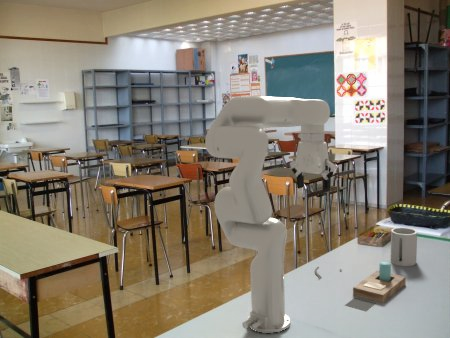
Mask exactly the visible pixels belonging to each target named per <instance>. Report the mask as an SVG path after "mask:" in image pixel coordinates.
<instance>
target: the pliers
mask: <svg viewBox="0 0 450 338" xmlns="http://www.w3.org/2000/svg"><path fill="white" fill-rule="evenodd" d="M319 268H320V267H319V266H317V267H316V268H315V269H314V274H315V276H317V278H318V281H320V280H321V279H322V278H323V277H322V276H321V275H320V274H319V273H318V269H319ZM339 273H342V268H339Z"/></svg>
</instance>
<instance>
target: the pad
mask: <svg viewBox="0 0 450 338" xmlns="http://www.w3.org/2000/svg"><path fill="white" fill-rule="evenodd" d="M376 304H377V302H376V301H375V302H374V301H371V300H367V299H364V298H361V297H360V298H359V297H356V296H355V297H354V298H352V299H351V300H349V302H347V303H346V304H344V306H346V307H349V308H353V309H356V310H360V311H364V312H368V311H369V309H371V308H372V307H374V305H376Z"/></svg>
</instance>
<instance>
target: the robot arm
mask: <svg viewBox="0 0 450 338" xmlns="http://www.w3.org/2000/svg"><path fill="white" fill-rule="evenodd" d="M330 115H331V109H330V106H329V103H328V102H326V101H325V100H323V99H309V98H307V99H306V98H305V99H304V98H296V97H283V96H282V97H281V96H263V95H260V96H259V95H256V96H254V95H253V96H249V95H248V96H235V97H231V99H228V101H227V102H226V103H225V104H224V106H223V107H222V108H221V109H220V111H219V112H218V114H217V116H216V117H215V119H214V121H212V123H211V125H210V126H209V129H208V130H207V133H206V134H205V135H206V136H205V139H204V140H205V142H204V143H205V149H206V152H207V153H208V154H209V155H210V156H212V157H215V158H219V159H233V160H235V159H236V160H238V162H237V165H236V166H235V167H234V169H233V171H232V172H231V174H230V176H229V180H228V183H229V184H228V185H229V186H226V187H225V186H224V187H222V188H221V189H220V190H219V191H218V192H217V194H216V195H215V197H214V202H213V203H214V212H215V215H216V219H217V220H218V221H217V222H218V223H219V225H220V227H221V229H222V231H223V234H224V235H225V237H226V240H228V242H229V243H230V244H231V246H235V247H238V248H242V249H249V250H254V251H257V254H256V255H255V257H254V258H253V259H252V260H251V263H250V268H249V270H250V295H251V296H250V298H251V300H250V302H251V303H250V304H251V311H250V313H249V315H248V316H247V318H246V320H245V321H242V327H243V329H246V330H247V329H248V328H249V327H250V328H252V329H254V330H256V331H258V332H257V333H259V332H262V333H261V334H266V333H271V334H274V333H273V332H278V333H280V332H279V331H281V330H284V331H286V330H287V329H288V328H290V326H291V317H290V316H289V315H287V314H286V309H285V307H286V305H285V303H286V302H285V267H284V266H285V249H286V244H287V236H288V232H287V231H288V230H287V227H286V225H285V224H284V223H283V221H281V220H279V219H278V218H274V217H272V215H273V214H272V212H273V209H272V208H273V207H272V204H271V201H270V197H269V195H268V192H267V190H266V187H265V184H264V182H263V178H262V173H263V172H262V170H263V166H264V163H265V161H266V156H267V152H268V149H269V137H268V135H267V134H268V133H266V131H265V130H264V129H266V128H267V129H269V128H292V127H300V133H298V135H297V138H299V139H300V141H299V142H298V144H297V150H296V159H294V160H292V161H291V162H289V166H290V168H291V171H292V173H293V174H294V176H295V178H296V186H297V189H298V190H300V189H302V188H304V186H305V176H304V174H305V173H306V174H315V175H321V176H322V178H323V179H322V192H324V193H326V192H328V191H330V188H331V179H332V178H333V176H334V175H335V174H336V172H337V169H338V165H336V164H335V163H333V162H331V161H330V159H329V151H328V146H327V142H326V141H325V124H326V123H327V122H328V121H329V120H330ZM329 169H330V171H329ZM250 328H249V329H250ZM286 328H287V329H286ZM252 329H251V330H252ZM285 329H286V330H285ZM256 331H255V332H256Z"/></svg>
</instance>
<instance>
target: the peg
mask: <svg viewBox="0 0 450 338" xmlns="http://www.w3.org/2000/svg"><path fill="white" fill-rule="evenodd" d="M378 269H379V270H378V271H379V280H382V281H386V282H390V281H391V274H392V272H391V270H392V264H391V262H387V261H382V262H379V268H378Z"/></svg>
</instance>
